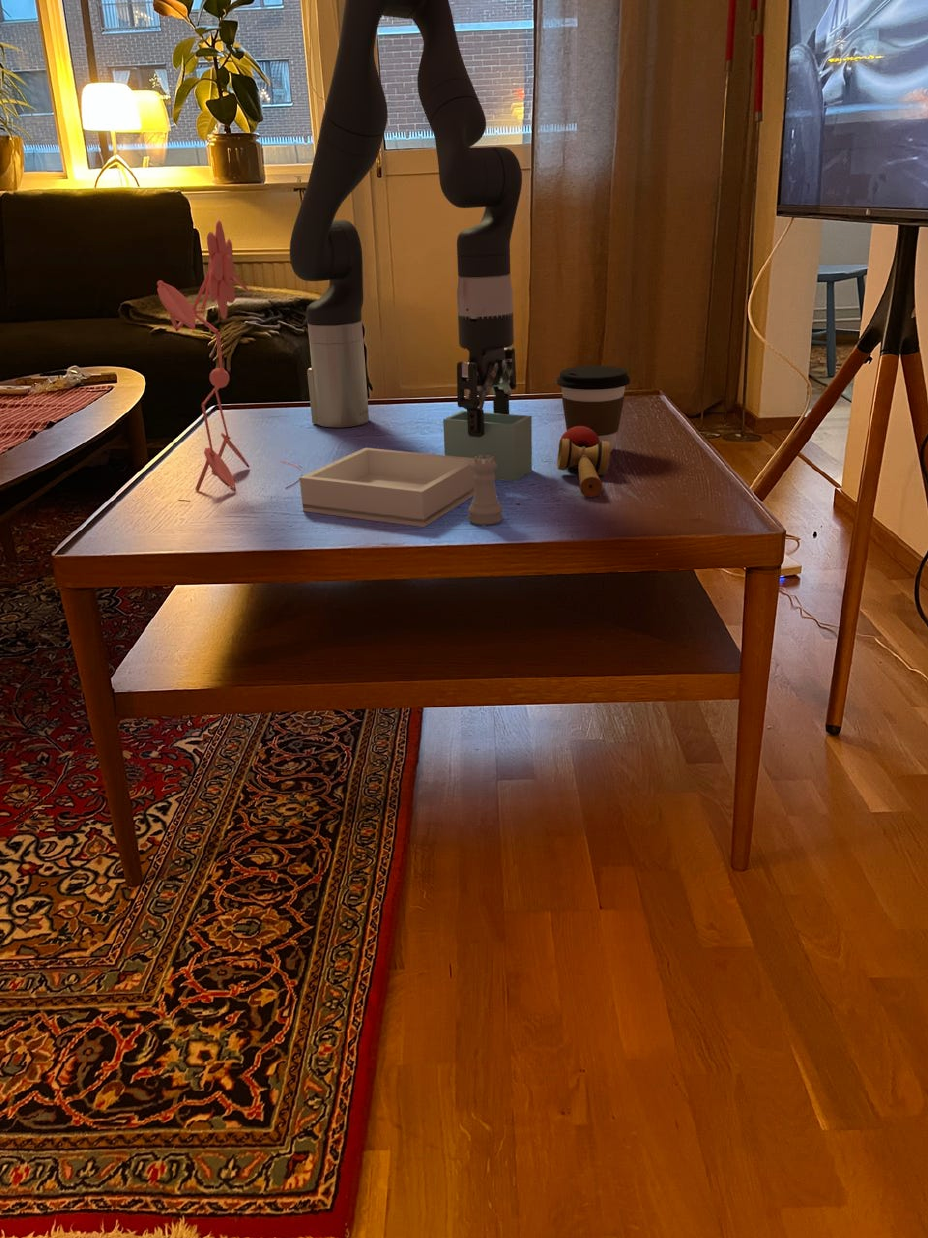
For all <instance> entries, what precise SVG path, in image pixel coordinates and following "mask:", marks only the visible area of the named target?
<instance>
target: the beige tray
mask: <svg viewBox="0 0 928 1238" xmlns="http://www.w3.org/2000/svg"><path fill="white" fill-rule="evenodd" d="M473 462H474V458H467V457H456V456H446V455H445V454H444V455H443V454H437V453H436V454H435V453H423V452H414V451H405V450H393V449H382V448H375V447H374V448H373V447H364V448H361V449H359V450H357V451H355V452H353V453H350V454H349V455H346V456H344V457H342V458H339V459H337V460H336V461H333V462H331V463H328V464H327V465H324V466H323V467H320V468H318V469H316V470H313V471H311V472H309V473H307V474H305V475H302V477H301V476H299V479H300V480H299V484H300V486H299V487H300V493H301V504H302V505H301V506H302V510H303V511H302V512H306V513H307V512H308V513H315V514H324V515H329V516H337V517H338V516H339V517H344V518H345V517H347V518H352V519H360V520H368V521H374V522H384V523H390V524H398V525H404V526H411V527H420V528H425V527H426V526H428V525H430V524H431V523H433V522H435V521H436V520H437V519H439V518H441V517H442V516H444V515H445V514H447V513H449V512H450V511H452V510H453V509H455V508H456V507H458V506H459V505H461V504H463V503H465V502H466V501H467V500H469V499H470V498H472V497H474V489H475V480H474V479H473V477H474V476H475V472H474V470H473V469H472V468H471V465H472V463H473Z"/></svg>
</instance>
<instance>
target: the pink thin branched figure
mask: <svg viewBox="0 0 928 1238" xmlns="http://www.w3.org/2000/svg"><path fill="white" fill-rule="evenodd" d="M206 245H207V251H208V256H209V260H208V264H207V265H208V268H207V272H206V275H205V277H204V280H203V282H202V284H201V286H200V289H199V291H198V293H197V296H196V298H195V300H194V303H193V305H192V304H191V302H190V301H188V299H187V298H186V296H185V295H183V294H182V293H181V292H180V291H179V290H178V289H176V287H174V286H173V285H170V284H168V283H165V282H164V281H163V280H161V279H160V280H158V281H157V282H156V285H157V289H156V290H157V293H158V297H159V300H160V302H161V303H162V305H163V306H164V308H165V309H166V310H167V312H168V315H169V318H170V321H171V323H172V326H173V329H174V331H175V332H178V331H179V330H180V329H181V328H182V327H183V326H184V325H185V326H186V327H188V328H189V329H192V330H195V329H196V323H197V322H196V319H197V320H198V321H200V322H201V323H202V324H203V325H204V326H205V327H207V328H208V329H209V330H210V331H211V332H213V333H214V334H215V338H216V347H217V355H218V364H219V367H217V368H214V369H212V370H211V372H210V373H209V381H210V384H211V385H212V386H214V387H213V389H212V390H211V392H210V393H209V394H208V395H207V397H205V400H204V401H203V402H202V403H201V410H202V414H203V419H204V423H205V424H204V425H205V428H206V429H205V430H206V435H207V441H208V444H209V446H208V447H205V448H204V451H203V454H204V457H205V459H206V460H205V463H204V466H203V468H202V471H201V474H200V476H199V479H198V481H197V482H196V483H197V484H196V486H195V491H198V492H199V491H200V489H201V486H202V484H203V481H204V479H205V477H206V473H207V471H208V468H209V467H210V468H211V473H212V474H214V475H216V476H217V478H218V479H219V480H220V481H221V482H222V484H224V485H226V486H227V487H228V488H229V490H231V491H232V492H233V493H236V492H237V488H236V484H235V478H234V477H233V475H232V472H231V471H230V468H229V467H228V466H227V464H226V463H225V461H224V460H223V459H222V456H223V453H224V451H225V448H226V446H228V447H229V448H230V449H231V450H232V451H233V452H234V454H235V455H236V456H237V458H239V460H241V462H242V463H243V464H244V466H246V467H247V468H250V467H251V466H250V465H249V463H248V461H247V460H246V459H245V457H244V456H243V455H242V453H241V452H240V451H239V449H238V448H237V447H236V445H234V444H233V442H232V441H231V438H232V437H230V436H229V433H228V429H227V424H226V420H225V419H226V418H225V415H224V411H223V408H222V403H221V399H220V396H219V395H220V394H219V389H223V388H225V387H227V385H228V384H229V382H230V374H229V372H228V371H226V370H225V368H223V355H222V343H221V342H222V341H221V333H220V332H219V330H218V329H217V328H216V327H214V326H213V325H212V324H211V323H210V322H209V321H207V320H205V319H204V318H203V317H201V316H200V314H204V313H205V309H206V307H207V306H206V305H207V302H208V298H209V299H210V301H211V302H212V303H215V302H217V306H218V309H219V312H220V316H221V319H222V320H225V319H226V318H227V317H228V303H229V304H233V303H234V302H235V300H236V292H235V287H234V284H233V282H234V281H235V282H236V283H237V284H238V285H239V286H240V287H241V288H242V289H243V290H244V291H245V292H246V293H250V290H249V288H248V287H247V286H246V285H245V283H244V281H242V279H240V277H239V276H238V275H237V274H236V273H235V270H236V269H235V268H236V267H235V262H234V260H233V242H232V239H230V238H227V240H226V236H225V232H224V228H223V224H222V221H221V220H217V222H216V225H215V234H214V232H211V231H209V232H208V233H207V235H206ZM203 294H204V295H203ZM202 295H203V299H202ZM201 299H202V303H201V307H200V309H198V305H199V304H200V301H201ZM176 320H178V321H179V322H178V324H177V321H176ZM214 393H215V396H216V397H215V398H216V400H217V404H218V409H219V412H220V417H221V420H222V424H223V428H224V431H225V433H223V432H221V433H220V436H221V437H222V438H223V441H222V444H221V446H220V449H219V451H218V453H217V452H216V451H215V450H213V448H214V447H213V444H212V438H211V434H210V433H211V432H210V429H209V423H208V416H207V412H206V406H205V405H206V404H207V402H208V401H209V400H210V398H212V396H213V394H214ZM280 462H281V463H285V464H287V465H291V466H293V467H295V468H297V469H298V470H299V471H300V472H301V476H300V477H302V476H303V474H302V472H303V471H302V470H301V469H302V468H303V467H302V466H300V465H298V464H297V466H296V464H292V463H290V462H286V461H283V460H280ZM299 467H300V468H299ZM298 482H300V478H299V479H298V480H296V482H293V484H290V485H288V486H286V487H285V489H287V488H290V487H292V486H294V485H295V484H296V483H298ZM177 501H178V502H186V503H187V502H188V503H189V502H191V501H190V500H183V499H178V500H177Z"/></svg>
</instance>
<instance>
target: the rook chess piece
mask: <svg viewBox="0 0 928 1238" xmlns="http://www.w3.org/2000/svg"><path fill="white" fill-rule="evenodd" d="M496 467H497V464H496V462H495V461H494V457H493V456H492V457H491V459H490V455H486V459H483V455H480V456H479V459H478V457H477V456H476V457H474V462H473V463H472V465H471V468H472V469H473V470H474V472H475V476H474V477H473V479H474V480H475V489H474V496H472V497H473V498H472V500H471V502H470V503H471V504H470V505H469V507H468V511H467V512H468V513H469V515H468V516H467V519H468V520H469V522H470V523H471V524H473V525H475V526H480V525H485V526H484V527H486V526H488V525H489V526H494V525H498V524H499V523H501V521H502V520H503V519H504V515H503V514H502V512H503V510H504V509H503V506H502V505H501V504H500V503H499V502H500V501H499V499H498V497H497V491H496V487H495V486H496V485H495V480H496V479H495V478H496V476H495V475H494V470H495V469H496Z"/></svg>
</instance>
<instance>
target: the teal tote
mask: <svg viewBox="0 0 928 1238" xmlns="http://www.w3.org/2000/svg"><path fill="white" fill-rule="evenodd" d="M442 420H443V421H442V423H443V442H444V443H443V446H444V447H443V449H444V451H443V452H444V455H446V456H456V457H467V458H474V457H476V456H477V457H478V459H479V456H480V455H483V459H486V455H490V459H491V457H492V456H493V457H494V461H495V462H496V464H497V467H496V469H495V470H494V475H495V476H496V478H495V480H498V481H499V480H500V481H509V482H517V481H518V480H519V479H521V478H522V477H524V476H525V475H527V474H528V473H529V472H531V471H532V470H533V469H532V467H533V463H532V462H533V458H532V457H533V455H532V453H533V451H532V450H533V446H532V444H533V442H532V441H533V435H532V434H533V429H532V425H533V424H532V420H533V419H532V415H525V414H524V415H523V414H522V415H521V414H510V413H509V414H499V413H494V412H486V411H485V412H484V435H483V436H482V437H470V436H469V435H468V423H467V410H460V411H459V412H457V413H455V414H452V415H450V416H448V417H446V418H444V419H442Z"/></svg>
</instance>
